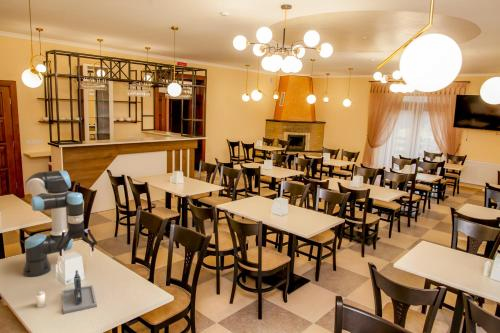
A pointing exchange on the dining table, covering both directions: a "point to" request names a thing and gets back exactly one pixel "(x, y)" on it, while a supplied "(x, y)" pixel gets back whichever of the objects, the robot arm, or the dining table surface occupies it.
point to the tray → (70, 301)
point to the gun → (77, 288)
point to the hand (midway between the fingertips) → (77, 259)
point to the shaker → (40, 299)
